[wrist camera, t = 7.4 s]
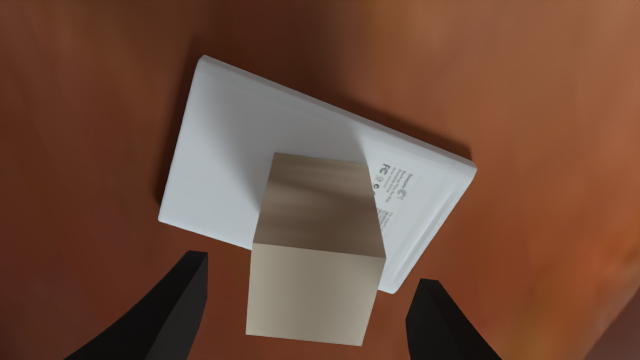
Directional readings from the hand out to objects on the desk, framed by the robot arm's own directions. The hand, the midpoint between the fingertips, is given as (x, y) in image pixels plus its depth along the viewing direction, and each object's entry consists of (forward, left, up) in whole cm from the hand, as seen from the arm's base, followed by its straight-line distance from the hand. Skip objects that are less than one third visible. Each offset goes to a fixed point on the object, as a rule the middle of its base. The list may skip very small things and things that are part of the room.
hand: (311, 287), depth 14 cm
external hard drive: (0, 0, -7) cm, 7 cm away
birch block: (0, 0, -5) cm, 5 cm away
